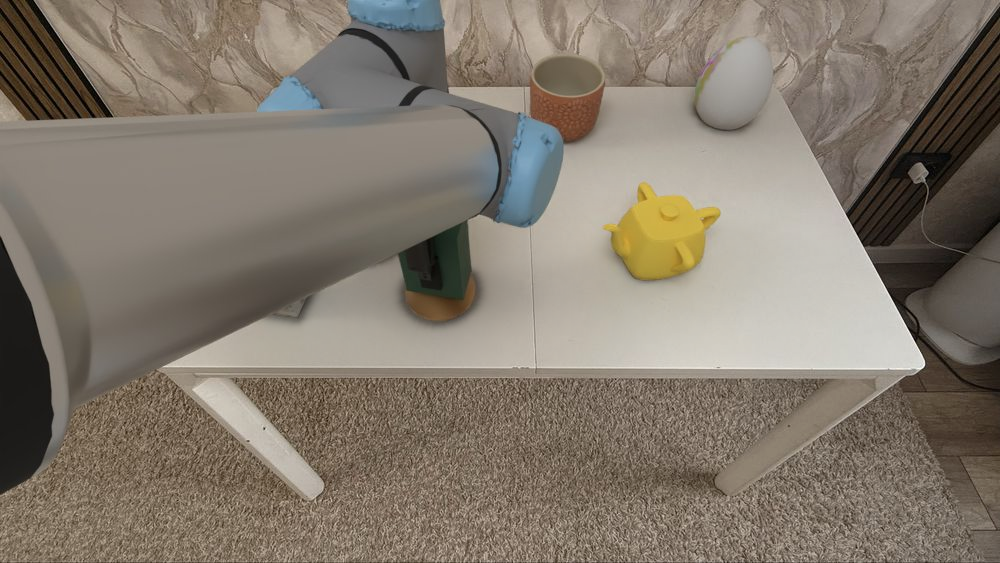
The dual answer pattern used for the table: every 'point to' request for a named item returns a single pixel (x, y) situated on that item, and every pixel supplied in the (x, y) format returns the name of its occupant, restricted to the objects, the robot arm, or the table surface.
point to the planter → (567, 93)
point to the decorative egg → (734, 84)
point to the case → (446, 264)
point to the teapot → (661, 235)
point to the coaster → (440, 304)
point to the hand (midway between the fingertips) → (437, 269)
